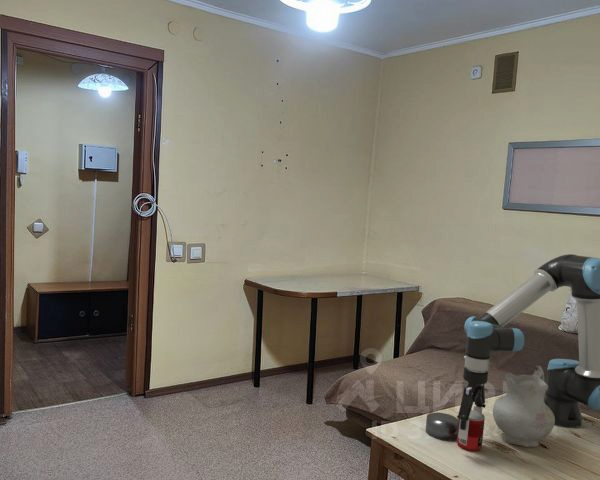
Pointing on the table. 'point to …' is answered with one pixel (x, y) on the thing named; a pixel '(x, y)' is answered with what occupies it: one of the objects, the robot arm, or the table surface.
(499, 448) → the table surface
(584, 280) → the robot arm
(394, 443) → the table surface
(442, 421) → the pedestal
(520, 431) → the ceramic pitcher
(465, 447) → the canned food
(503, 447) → the table surface
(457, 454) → the table surface
